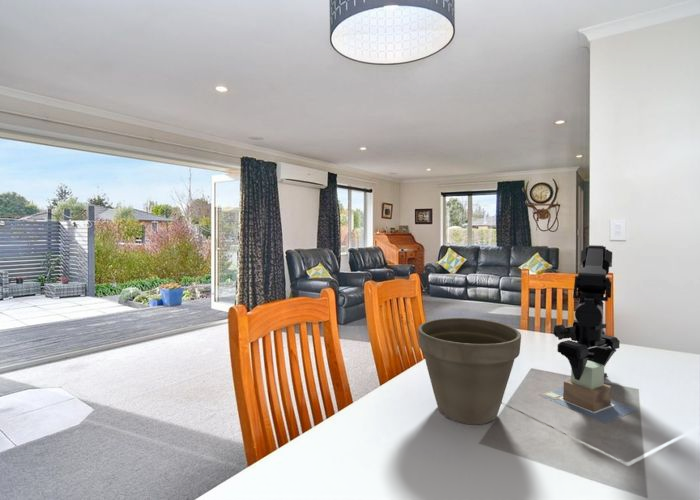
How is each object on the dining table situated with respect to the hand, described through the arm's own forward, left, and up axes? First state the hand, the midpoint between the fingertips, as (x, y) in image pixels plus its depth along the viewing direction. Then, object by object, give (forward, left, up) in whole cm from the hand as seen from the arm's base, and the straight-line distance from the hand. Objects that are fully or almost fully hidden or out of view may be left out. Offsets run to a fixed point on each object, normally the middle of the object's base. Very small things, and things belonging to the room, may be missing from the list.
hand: (587, 376), depth 106 cm
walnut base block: (0, 0, -7) cm, 7 cm away
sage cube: (0, 0, -2) cm, 2 cm away
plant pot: (+32, -12, -8) cm, 35 cm away
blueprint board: (0, 0, -8) cm, 8 cm away
